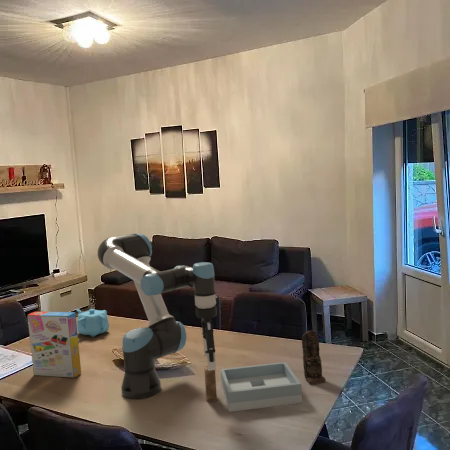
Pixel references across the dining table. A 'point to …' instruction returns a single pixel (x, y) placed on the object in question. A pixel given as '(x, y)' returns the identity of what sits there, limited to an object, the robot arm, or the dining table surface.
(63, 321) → the game box
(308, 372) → the statue
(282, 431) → the dining table surface
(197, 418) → the dining table surface
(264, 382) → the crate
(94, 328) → the teapot
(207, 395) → the peg
